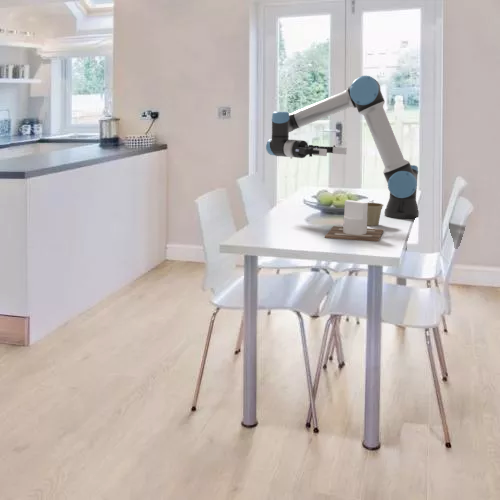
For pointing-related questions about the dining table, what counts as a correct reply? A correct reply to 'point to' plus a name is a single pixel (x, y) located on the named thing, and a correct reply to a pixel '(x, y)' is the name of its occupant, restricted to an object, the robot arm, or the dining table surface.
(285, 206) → the dining table surface
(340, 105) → the robot arm
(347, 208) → the base with upright slab
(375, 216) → the flower pot
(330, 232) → the letter board
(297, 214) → the dining table surface
